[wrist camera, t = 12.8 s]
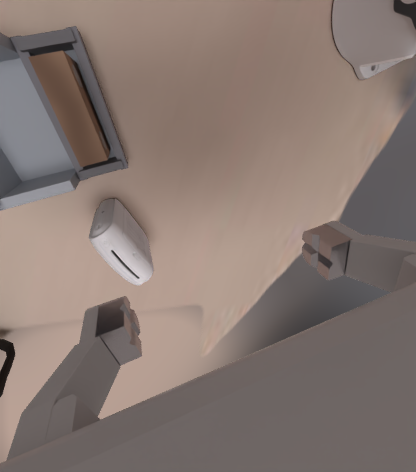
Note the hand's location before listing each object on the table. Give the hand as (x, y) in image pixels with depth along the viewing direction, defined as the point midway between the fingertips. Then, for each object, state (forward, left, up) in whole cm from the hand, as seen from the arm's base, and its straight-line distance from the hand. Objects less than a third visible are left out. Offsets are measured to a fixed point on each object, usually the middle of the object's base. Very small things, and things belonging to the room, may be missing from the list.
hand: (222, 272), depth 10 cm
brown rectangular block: (+7, -7, -30) cm, 32 cm away
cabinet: (+11, -7, -31) cm, 34 cm away
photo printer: (+8, +10, -31) cm, 34 cm away
